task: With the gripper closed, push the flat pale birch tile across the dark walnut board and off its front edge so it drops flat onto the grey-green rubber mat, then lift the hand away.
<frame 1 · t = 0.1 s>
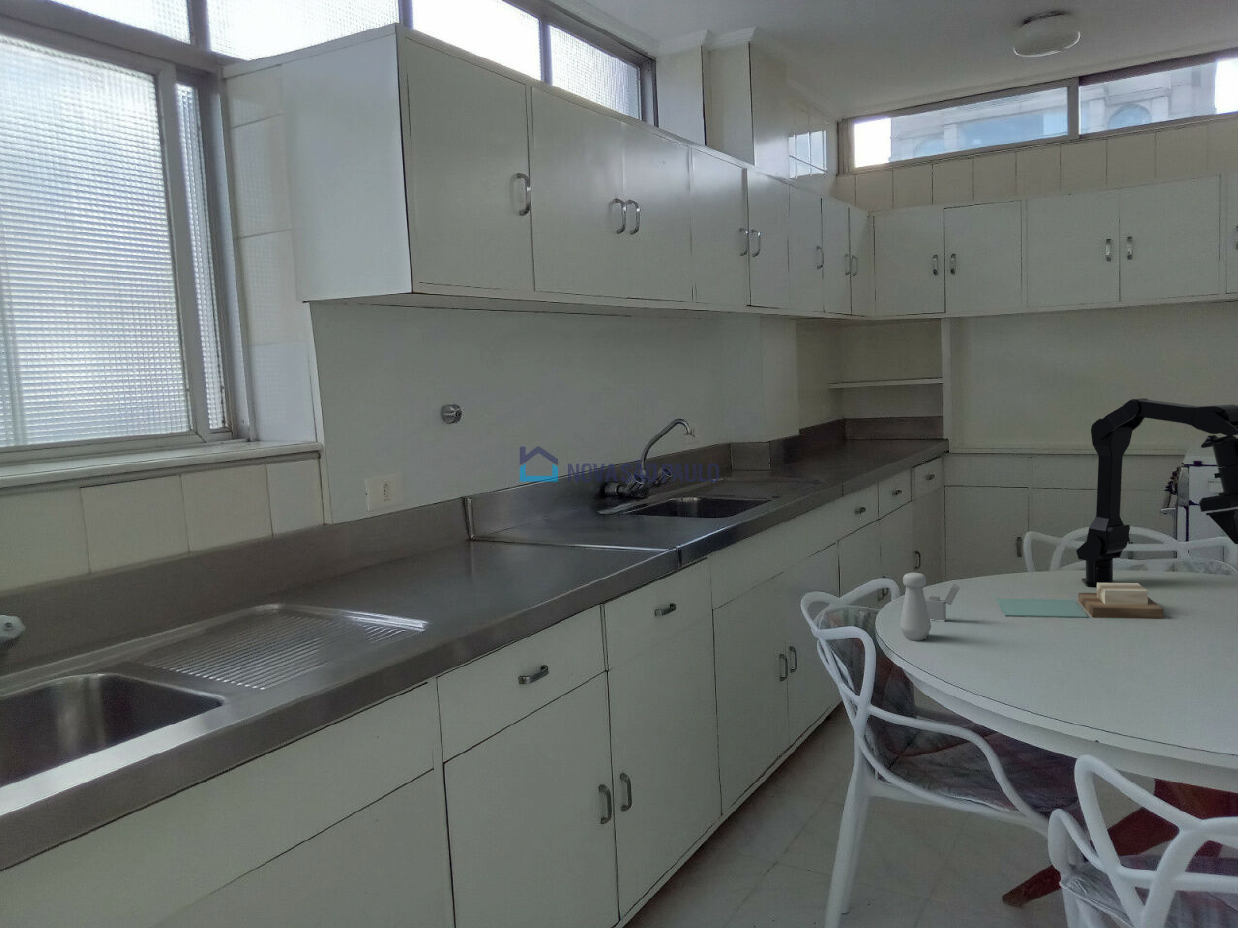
birch tile: (1121, 600, 191), point 2 cm above the table, touching walnut board
rubber mat: (1040, 608, 195), on the table
salt shaker: (916, 638, 179), on the table
walnut board: (1119, 609, 191), on the table
lighter: (942, 621, 190), on the table
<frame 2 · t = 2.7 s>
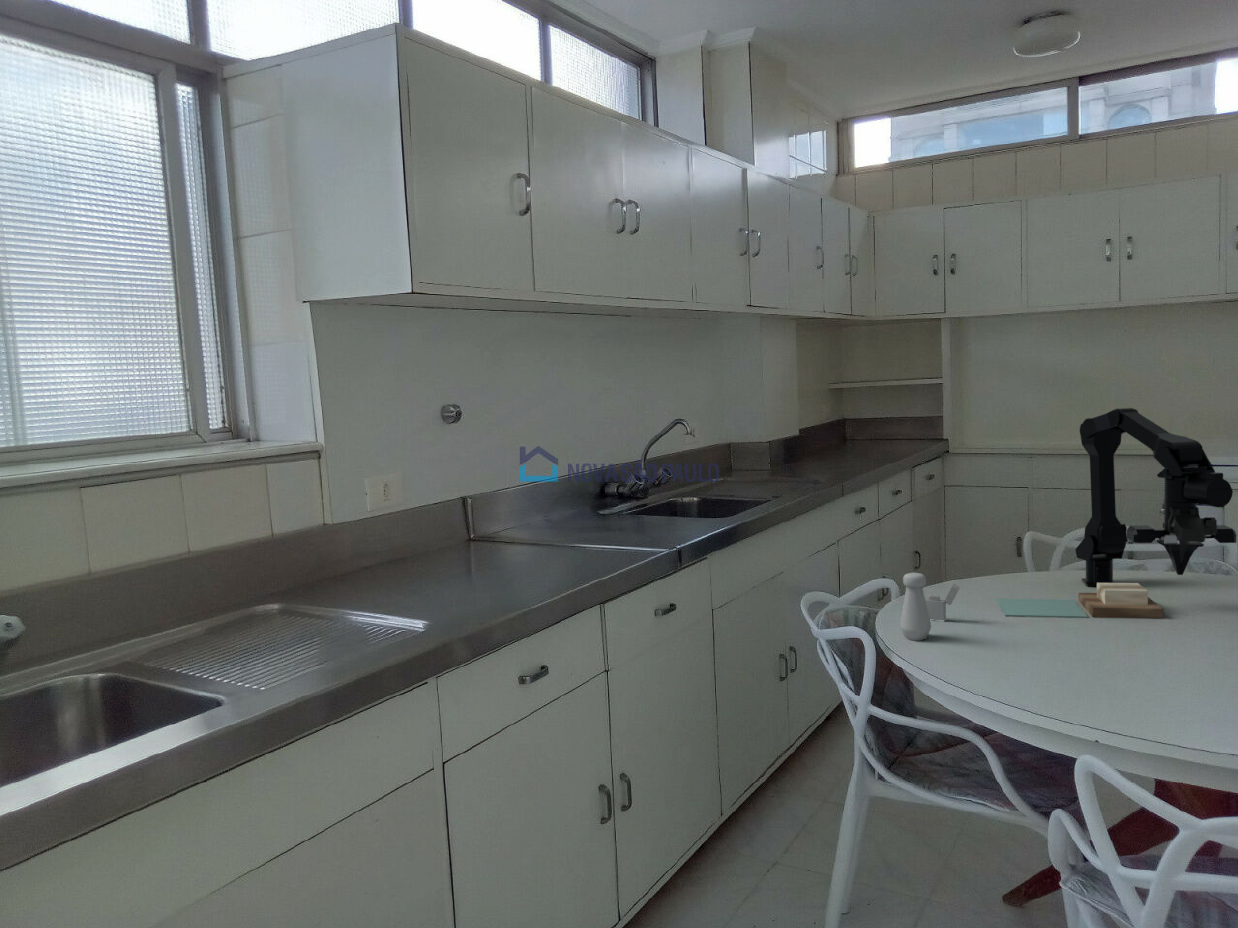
hand: (1179, 574, 187), 8 cm above the table, tool pointing down, fingers closed
nothing on the table moved.
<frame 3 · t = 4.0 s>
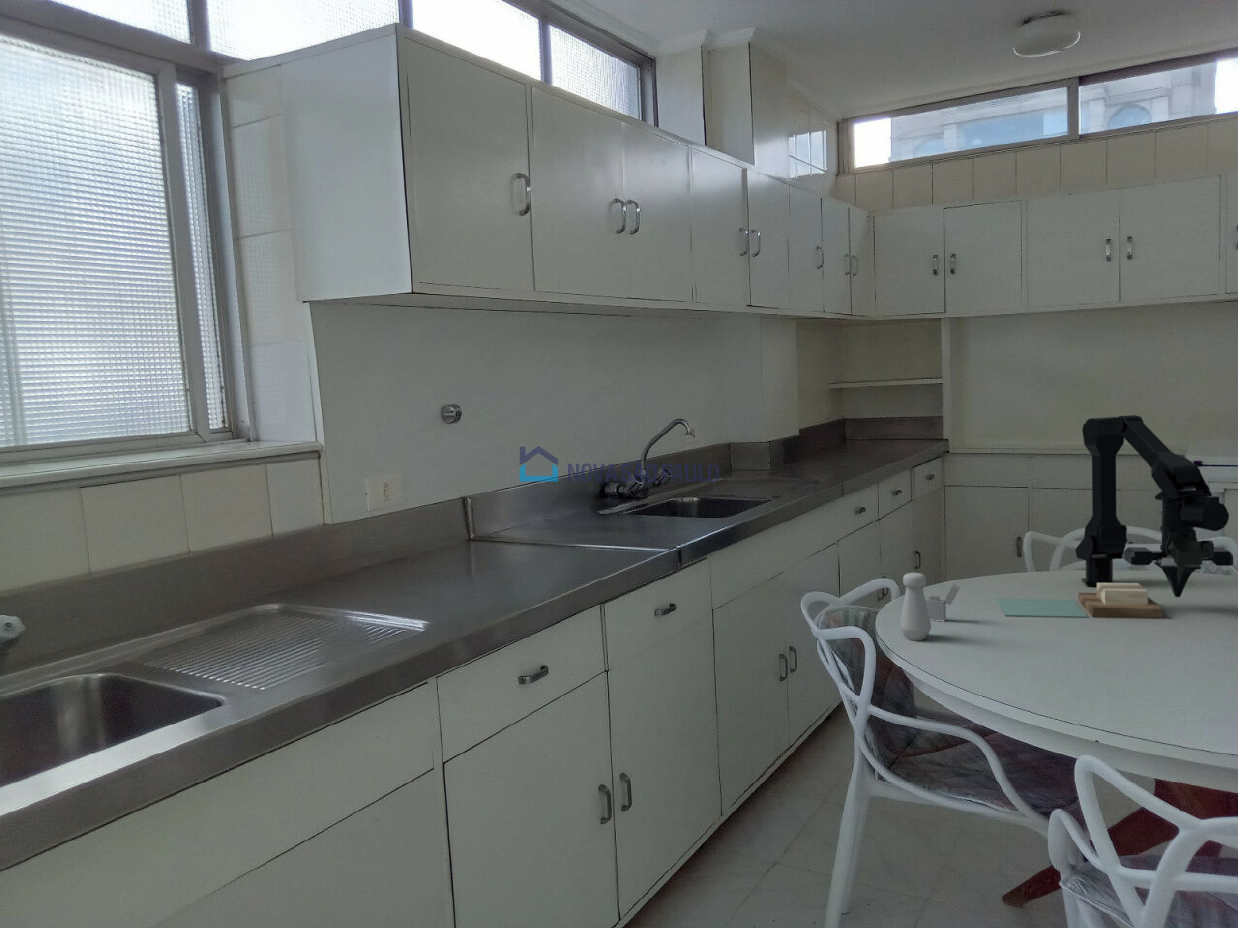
hand: (1177, 596, 188), 3 cm above the table, tool pointing down, fingers closed
nothing on the table moved.
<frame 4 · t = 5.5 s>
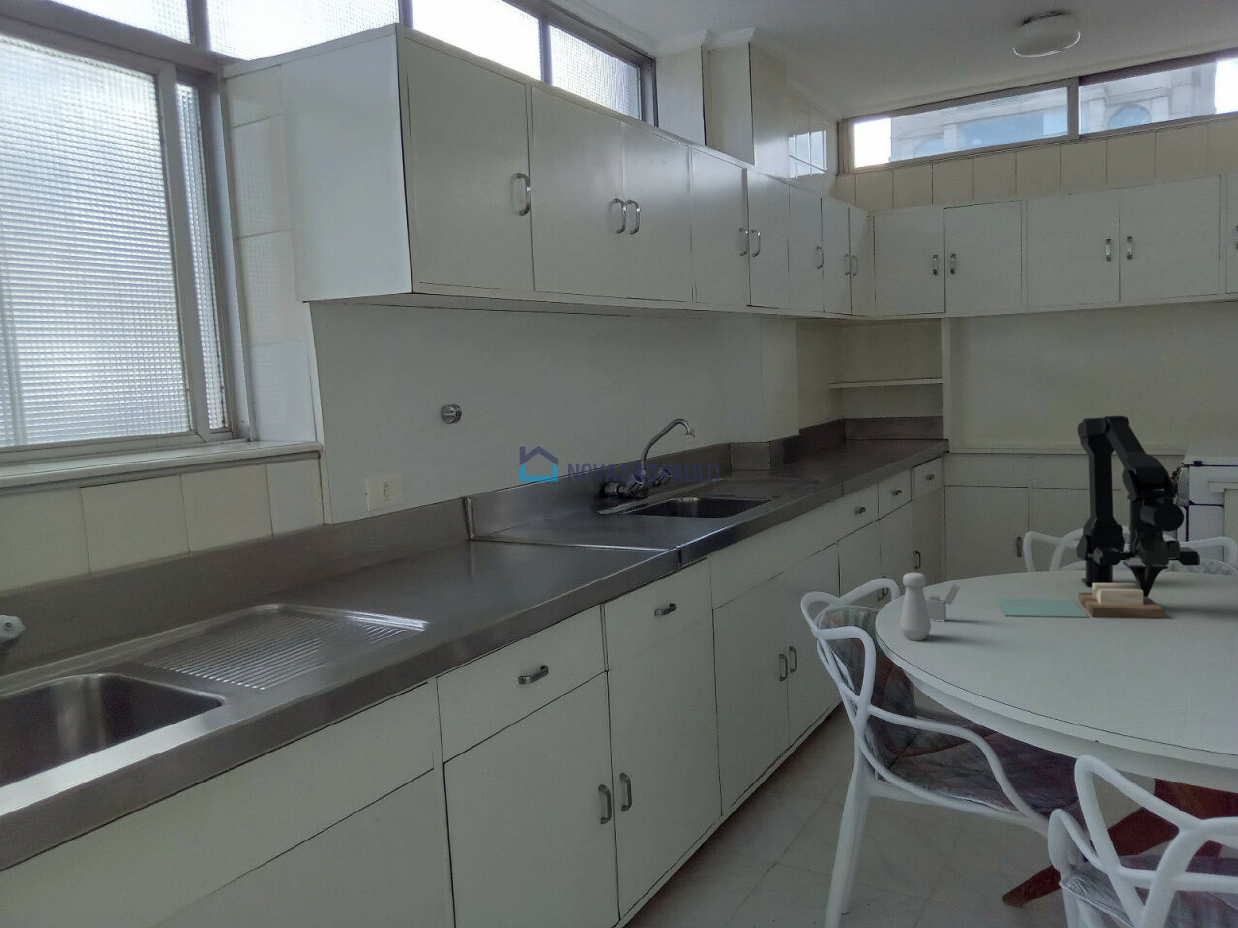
hand: (1145, 596, 189), 3 cm above the table, tool pointing down, fingers closed
birch tile: (1117, 600, 191), point 2 cm above the table, touching gripper, walnut board
everything else where it was.
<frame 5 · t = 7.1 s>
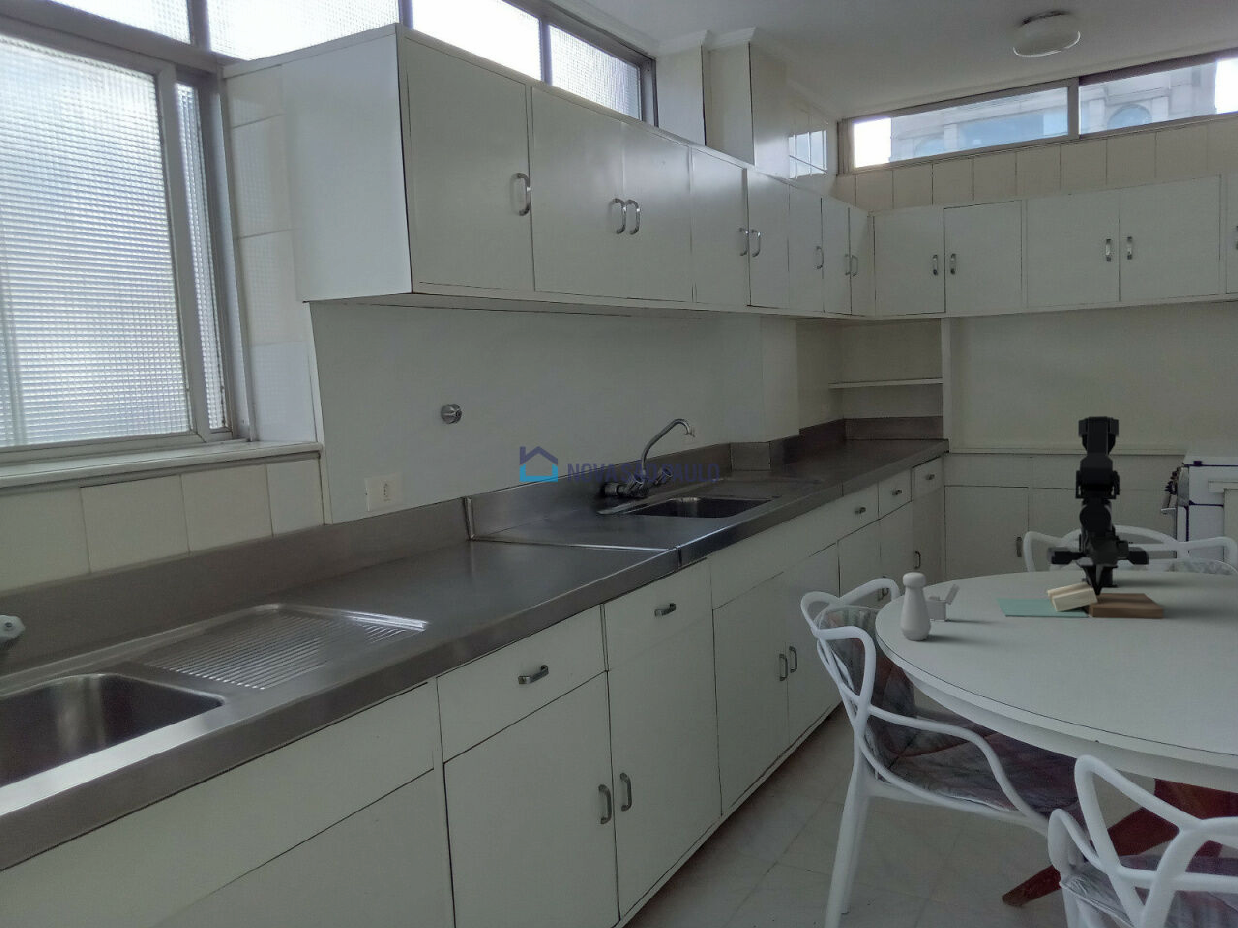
hand: (1096, 595, 192), 3 cm above the table, tool pointing down, fingers closed
birch tile: (1073, 603, 193), point 1 cm above the table, tilted 15°, touching gripper, rubber mat
everything else where it was.
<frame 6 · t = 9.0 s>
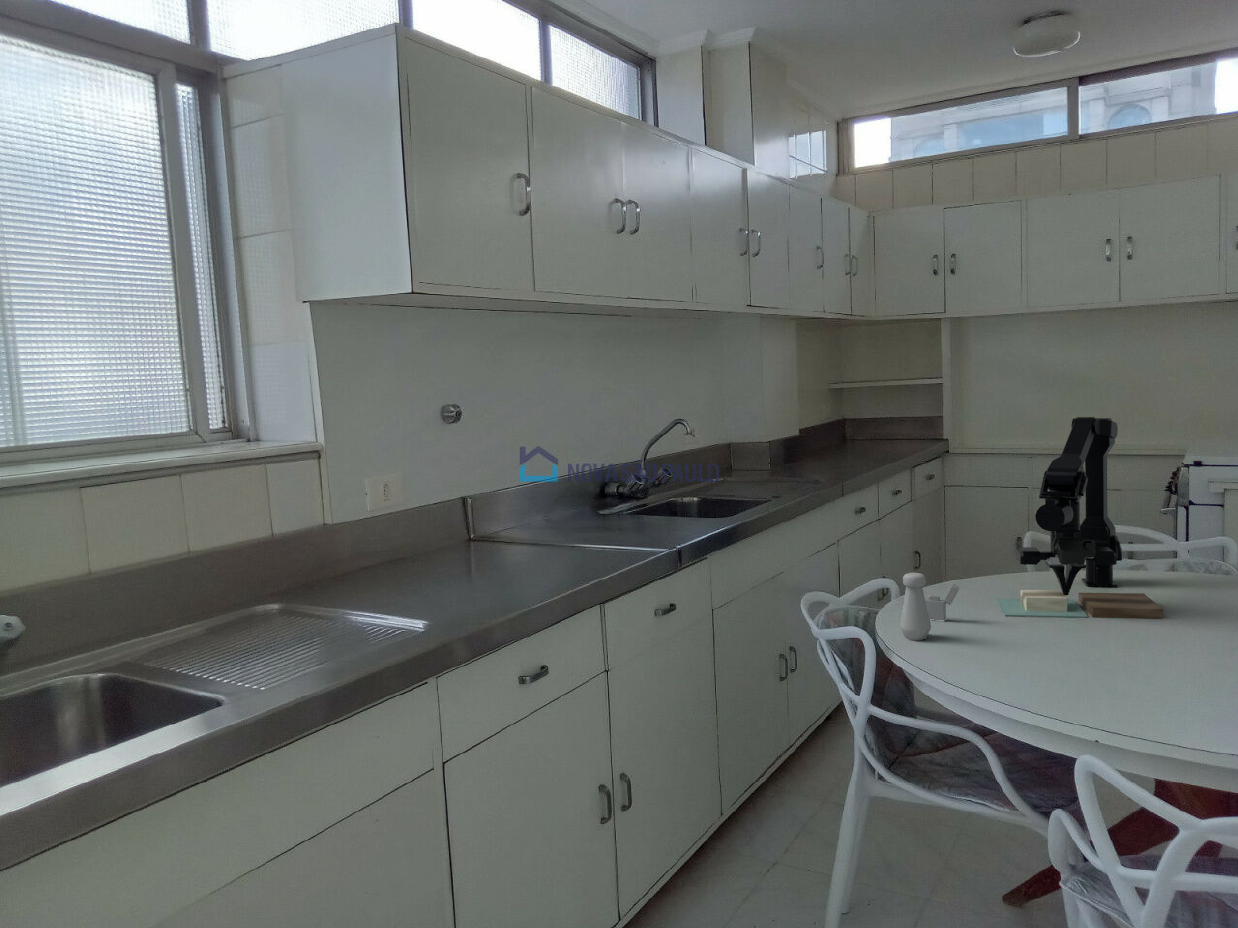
hand: (1065, 595, 194), 3 cm above the table, tool pointing down, fingers closed
birch tile: (1043, 607, 195), resting on rubber mat, touching gripper
everything else where it was.
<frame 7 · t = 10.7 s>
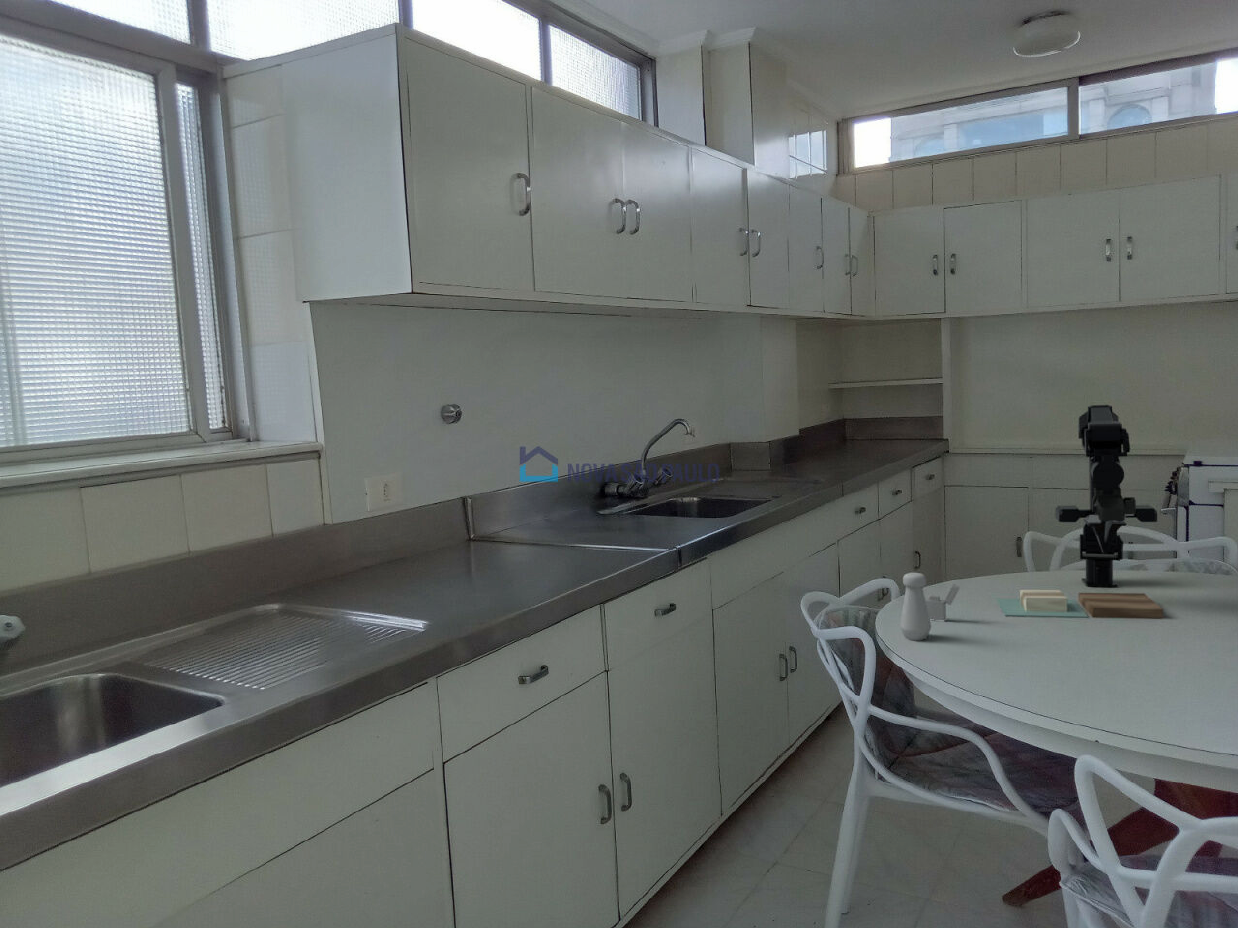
hand: (1104, 552, 193), 12 cm above the table, tool pointing down, fingers closed
birch tile: (1043, 607, 195), resting on rubber mat
everything else where it was.
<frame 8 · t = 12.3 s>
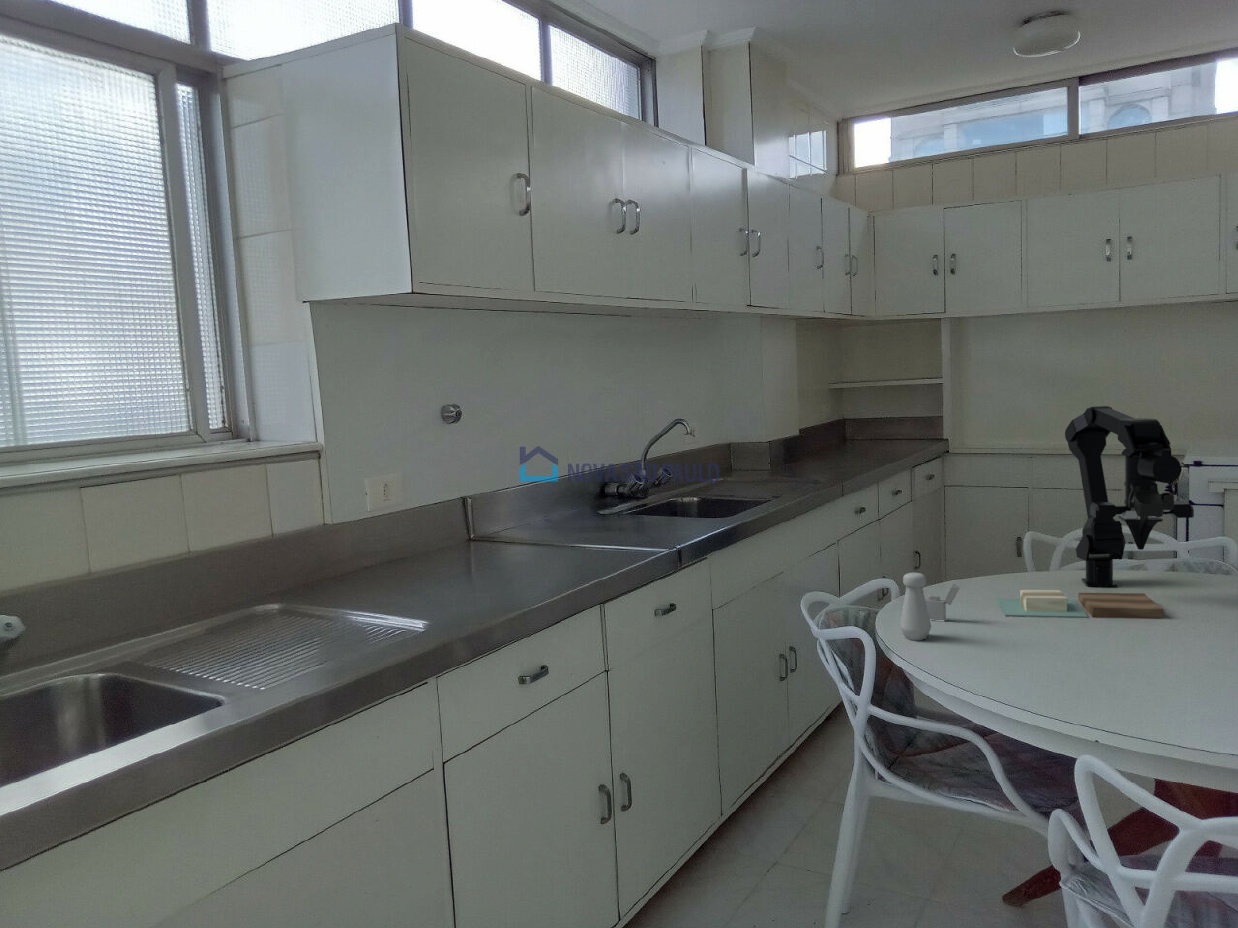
hand: (1140, 549, 194), 12 cm above the table, tool pointing down, fingers closed
nothing on the table moved.
at the end: birch tile inside the target area on the rubber mat (0.7 cm from its centre), point 0.3 cm above the rubber mat's base; birch tile tilted 0°; birch tile touching rubber mat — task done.
